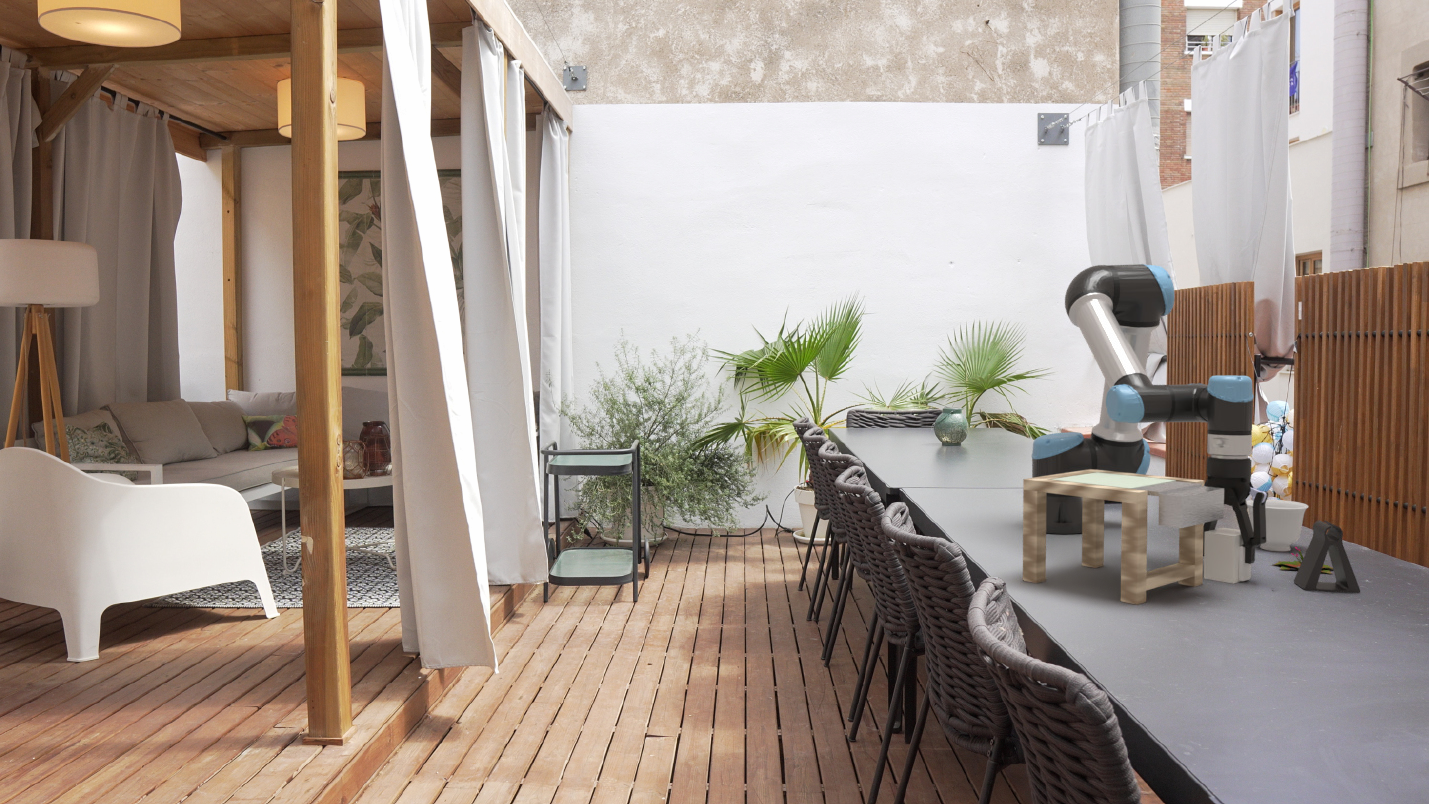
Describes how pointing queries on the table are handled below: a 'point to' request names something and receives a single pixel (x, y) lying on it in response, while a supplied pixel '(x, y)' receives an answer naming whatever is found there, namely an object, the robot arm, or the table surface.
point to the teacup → (1281, 523)
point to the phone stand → (1316, 557)
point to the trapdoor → (1167, 497)
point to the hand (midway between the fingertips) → (1227, 576)
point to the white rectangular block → (1222, 555)
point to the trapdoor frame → (1133, 534)
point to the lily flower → (1298, 563)
